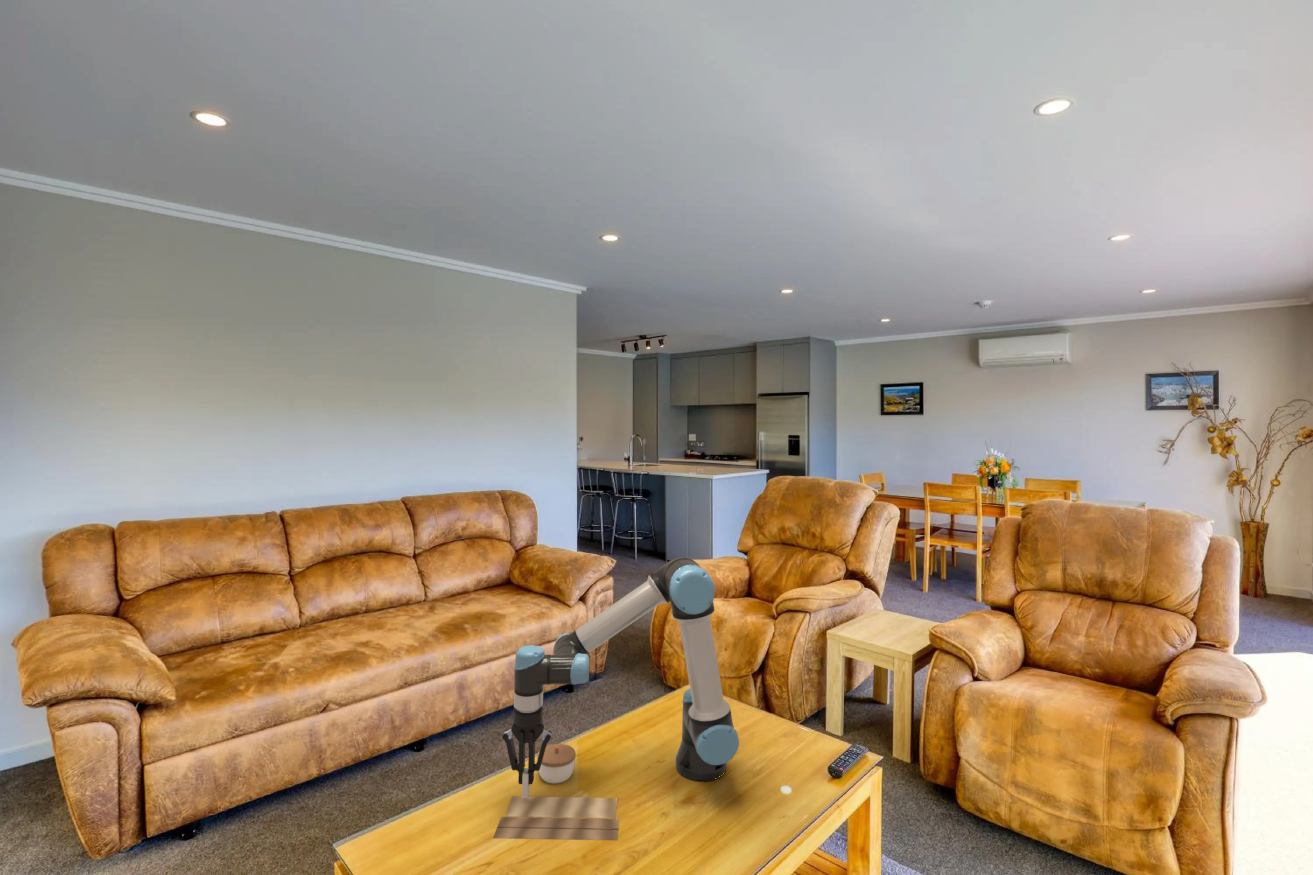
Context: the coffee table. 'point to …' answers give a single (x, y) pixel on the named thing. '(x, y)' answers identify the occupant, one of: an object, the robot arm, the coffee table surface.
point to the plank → (562, 807)
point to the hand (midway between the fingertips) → (525, 795)
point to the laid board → (557, 828)
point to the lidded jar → (557, 763)
